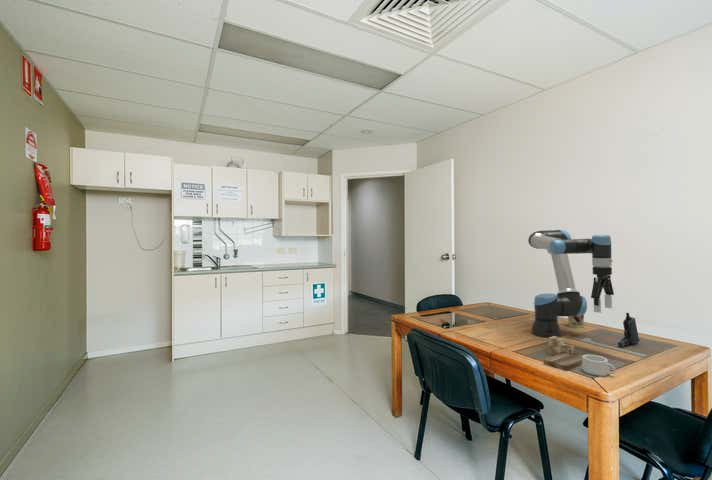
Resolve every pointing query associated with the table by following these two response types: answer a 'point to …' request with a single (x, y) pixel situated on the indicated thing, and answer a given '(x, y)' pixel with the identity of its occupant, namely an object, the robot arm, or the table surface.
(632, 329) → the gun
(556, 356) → the board
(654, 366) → the table surface
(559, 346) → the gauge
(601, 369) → the mug
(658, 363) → the table surface
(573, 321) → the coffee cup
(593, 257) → the robot arm
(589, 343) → the table surface
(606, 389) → the table surface
